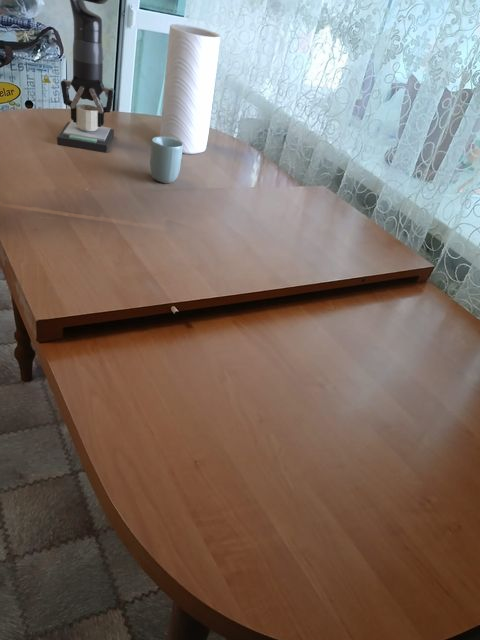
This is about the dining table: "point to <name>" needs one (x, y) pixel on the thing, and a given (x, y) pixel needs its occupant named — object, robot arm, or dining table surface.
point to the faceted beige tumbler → (87, 117)
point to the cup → (165, 158)
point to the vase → (189, 86)
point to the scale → (86, 137)
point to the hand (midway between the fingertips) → (87, 123)
